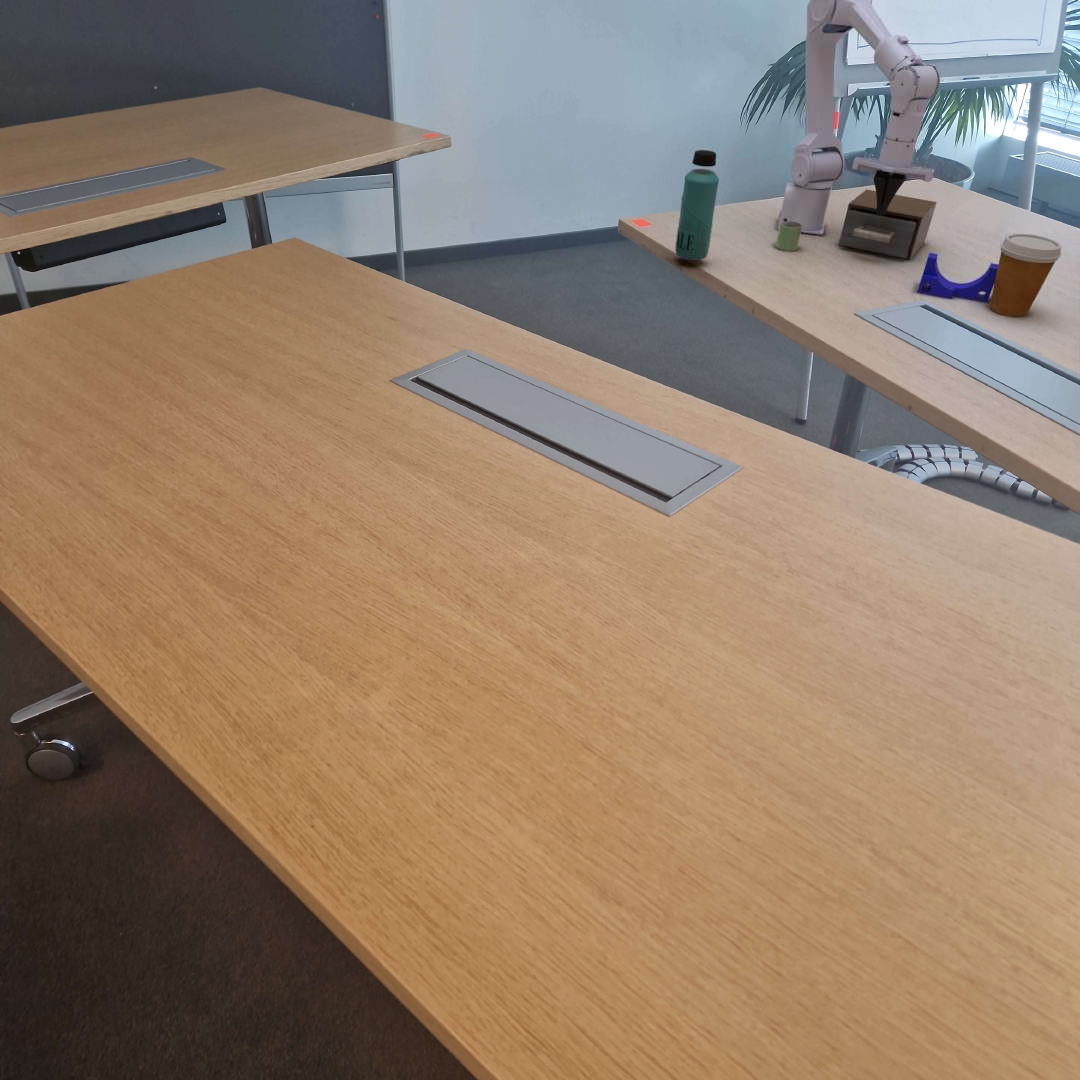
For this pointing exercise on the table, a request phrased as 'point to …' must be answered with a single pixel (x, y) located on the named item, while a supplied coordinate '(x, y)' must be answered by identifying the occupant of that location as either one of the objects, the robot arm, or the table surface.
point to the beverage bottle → (697, 208)
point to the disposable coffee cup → (1022, 272)
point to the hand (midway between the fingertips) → (880, 214)
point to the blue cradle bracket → (949, 289)
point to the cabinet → (900, 215)
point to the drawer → (878, 232)
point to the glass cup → (788, 236)
